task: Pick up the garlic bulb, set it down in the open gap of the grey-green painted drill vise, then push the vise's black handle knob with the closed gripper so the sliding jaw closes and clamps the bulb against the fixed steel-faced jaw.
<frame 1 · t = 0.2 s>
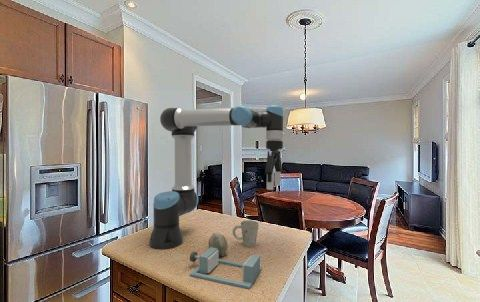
hand: (274, 187, 111), 27 cm above the worktop, fingers open, 13 cm apart
vise: (232, 273, 88), on the worktop
garlic bulb: (217, 254, 104), on the worktop
mug: (245, 244, 116), on the worktop
jaw: (202, 258, 92), point 3 cm above the worktop, slide at 0.0 cm
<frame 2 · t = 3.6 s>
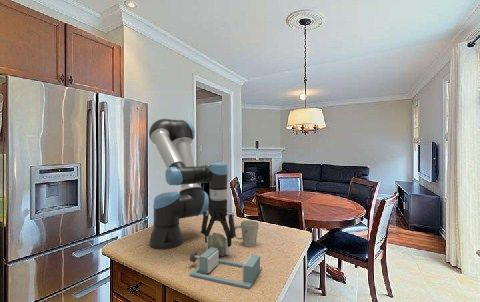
hand: (217, 252, 104), 1 cm above the worktop, fingers closed on garlic bulb, 8 cm apart
garlic bulb: (218, 254, 104), on the worktop, touching gripper
everything else where it was.
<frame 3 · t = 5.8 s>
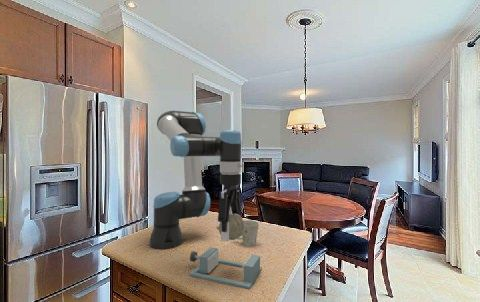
hand: (230, 236, 88), 13 cm above the worktop, fingers closed on garlic bulb, 8 cm apart
garlic bulb: (230, 238, 88), point 12 cm above the worktop, touching gripper
everything else where it was.
when the fingers open (3 cm above the worktop, at t = 8.1 s): garlic bulb drops 2 cm, on the worktop.
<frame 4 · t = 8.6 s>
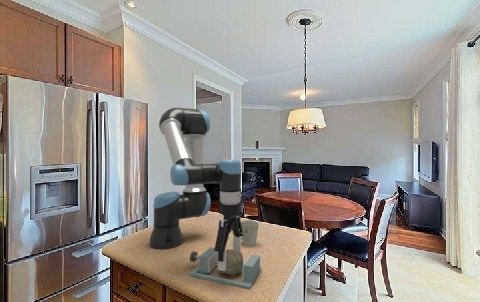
hand: (229, 261, 88), 4 cm above the worktop, fingers open, 13 cm apart
garlic bulb: (229, 273, 88), on the worktop
everything else where it was.
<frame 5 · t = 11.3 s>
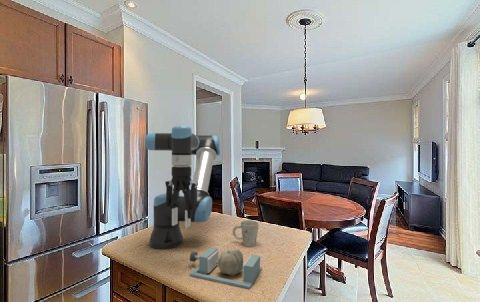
hand: (181, 225, 95), 15 cm above the worktop, fingers open, 5 cm apart
nothing on the worktop moved.
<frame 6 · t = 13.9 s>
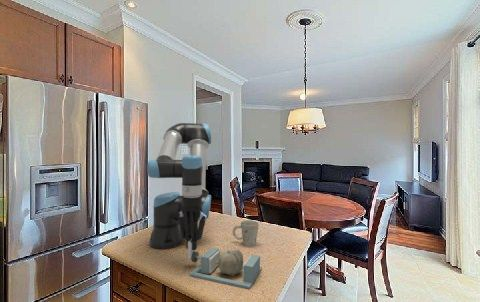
hand: (191, 257, 93), 3 cm above the worktop, fingers closed
jaw: (204, 259, 92), point 3 cm above the worktop, slide at 0.6 cm, touching gripper
everything else where it was.
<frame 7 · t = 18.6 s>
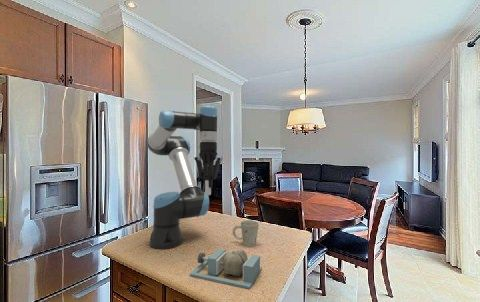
hand: (208, 194, 108), 24 cm above the worktop, fingers closed
garlic bulb: (234, 274, 88), on the worktop
jaw: (210, 260, 91), point 3 cm above the worktop, slide at 3.4 cm
everything else where it was.
at the end: jaw slide at 3.4 cm; garlic bulb inside the target area on the vise (0.6 cm from its centre), point 0.0 cm above the vise's base; the gripper is holding nothing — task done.
